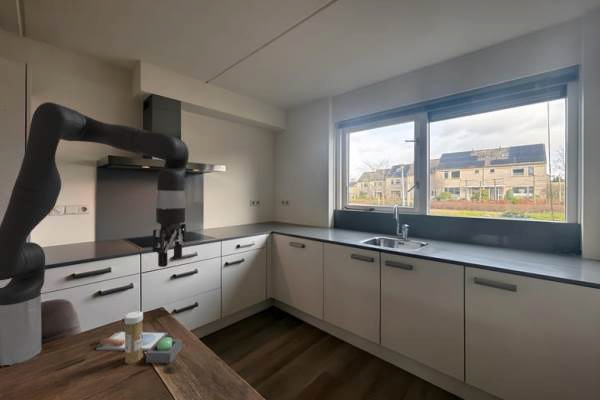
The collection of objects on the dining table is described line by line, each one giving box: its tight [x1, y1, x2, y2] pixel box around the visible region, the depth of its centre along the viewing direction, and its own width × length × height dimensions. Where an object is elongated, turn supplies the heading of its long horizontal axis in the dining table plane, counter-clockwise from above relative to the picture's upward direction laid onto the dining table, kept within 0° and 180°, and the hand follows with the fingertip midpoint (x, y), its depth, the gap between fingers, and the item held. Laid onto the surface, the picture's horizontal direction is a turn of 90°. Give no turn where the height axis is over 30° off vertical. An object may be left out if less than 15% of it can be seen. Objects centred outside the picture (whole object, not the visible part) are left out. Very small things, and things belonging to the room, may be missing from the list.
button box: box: [145, 338, 183, 364], centre depth 78 cm, size 7×7×3 cm
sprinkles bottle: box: [123, 310, 144, 364], centre depth 76 cm, size 5×5×13 cm
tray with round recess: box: [95, 330, 169, 353], centre depth 84 cm, size 17×10×1 cm, turn 89°
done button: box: [157, 336, 173, 351], centre depth 78 cm, size 4×4×3 cm
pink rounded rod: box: [100, 337, 125, 346], centre depth 81 cm, size 7×2×2 cm, turn 90°
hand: (170, 262), depth 75 cm, fingers open, 8 cm apart
